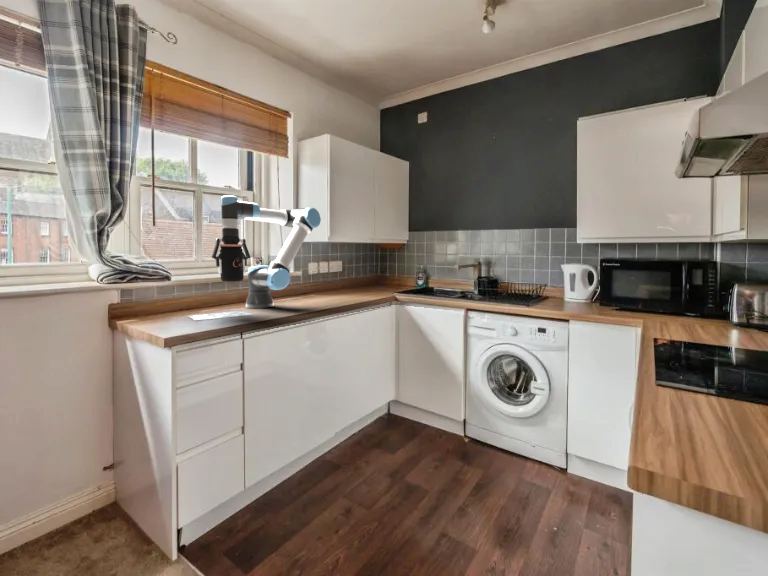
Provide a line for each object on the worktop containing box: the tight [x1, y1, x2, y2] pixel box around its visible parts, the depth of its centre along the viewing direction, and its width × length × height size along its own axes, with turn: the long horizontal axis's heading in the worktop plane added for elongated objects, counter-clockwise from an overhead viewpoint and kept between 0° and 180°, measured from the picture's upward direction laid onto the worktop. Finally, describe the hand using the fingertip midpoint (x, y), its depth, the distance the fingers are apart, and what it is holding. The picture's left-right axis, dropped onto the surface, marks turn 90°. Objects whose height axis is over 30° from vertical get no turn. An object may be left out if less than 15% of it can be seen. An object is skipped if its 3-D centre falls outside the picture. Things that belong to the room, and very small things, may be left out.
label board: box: [187, 310, 253, 322], centre depth 191 cm, size 26×16×1 cm, turn 128°
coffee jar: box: [219, 243, 245, 283], centre depth 192 cm, size 11×11×18 cm
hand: (232, 272), depth 193 cm, fingers closed on coffee jar, 11 cm apart
